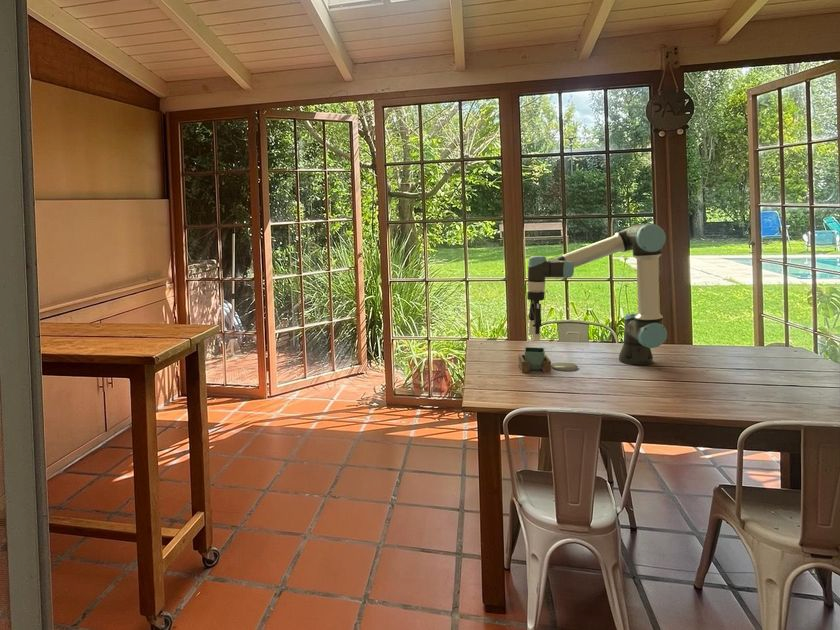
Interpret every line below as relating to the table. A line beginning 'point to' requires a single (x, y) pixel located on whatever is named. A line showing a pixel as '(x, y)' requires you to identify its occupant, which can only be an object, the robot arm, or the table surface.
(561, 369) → the olive beige round disc
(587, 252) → the robot arm
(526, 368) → the frame
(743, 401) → the table surface
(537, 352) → the flower pot
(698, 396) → the table surface
